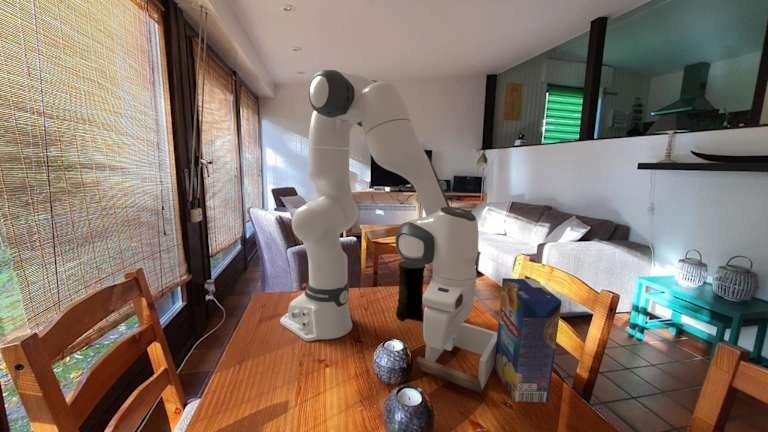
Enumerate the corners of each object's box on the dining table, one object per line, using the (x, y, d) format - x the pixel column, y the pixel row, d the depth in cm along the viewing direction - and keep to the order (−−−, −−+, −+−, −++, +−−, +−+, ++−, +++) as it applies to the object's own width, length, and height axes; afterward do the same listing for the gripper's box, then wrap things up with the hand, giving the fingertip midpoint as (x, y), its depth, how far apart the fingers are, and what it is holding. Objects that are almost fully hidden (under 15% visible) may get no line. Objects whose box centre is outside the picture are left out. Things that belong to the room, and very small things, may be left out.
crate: (424, 371, 81) (426, 341, 79) (445, 344, 93) (447, 318, 91) (482, 394, 74) (485, 361, 72) (497, 362, 85) (500, 333, 84)
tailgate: (422, 372, 80) (416, 360, 75) (424, 368, 80) (417, 356, 76) (481, 395, 73) (477, 383, 68) (482, 390, 73) (479, 378, 69)
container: (408, 307, 115) (410, 257, 111) (429, 317, 108) (432, 264, 105) (389, 315, 108) (391, 262, 105) (410, 326, 102) (413, 270, 99)
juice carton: (547, 407, 70) (561, 301, 66) (512, 407, 70) (524, 300, 66) (523, 371, 82) (534, 278, 78) (493, 370, 82) (502, 278, 78)
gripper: (455, 269, 80) (452, 322, 82) (418, 299, 62) (415, 366, 65) (482, 274, 76) (478, 330, 79) (450, 307, 59) (446, 377, 62)
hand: (449, 346), depth 72 cm, fingers closed
